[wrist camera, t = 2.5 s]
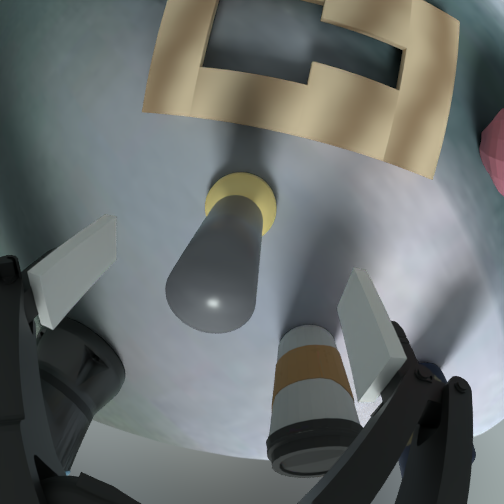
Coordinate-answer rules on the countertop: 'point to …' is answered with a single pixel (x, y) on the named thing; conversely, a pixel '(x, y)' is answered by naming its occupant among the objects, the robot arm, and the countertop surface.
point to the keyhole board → (321, 82)
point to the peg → (223, 256)
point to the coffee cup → (310, 405)
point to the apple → (494, 150)
